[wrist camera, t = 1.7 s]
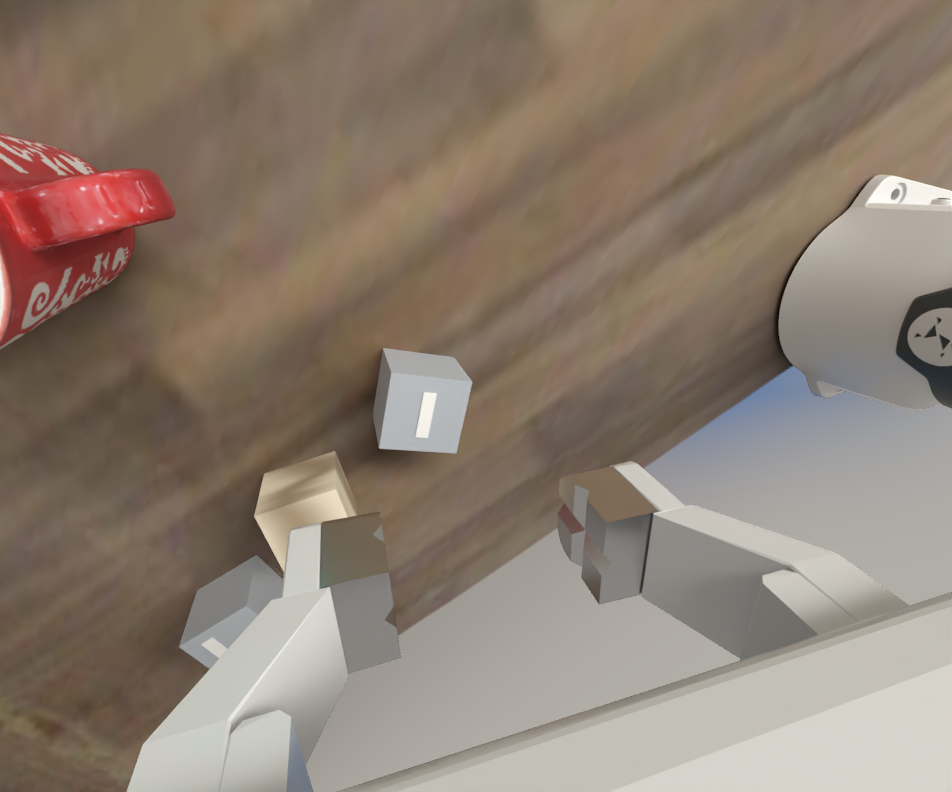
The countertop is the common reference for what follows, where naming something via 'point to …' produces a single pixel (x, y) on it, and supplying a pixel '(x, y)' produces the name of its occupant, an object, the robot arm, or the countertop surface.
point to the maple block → (302, 499)
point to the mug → (64, 229)
